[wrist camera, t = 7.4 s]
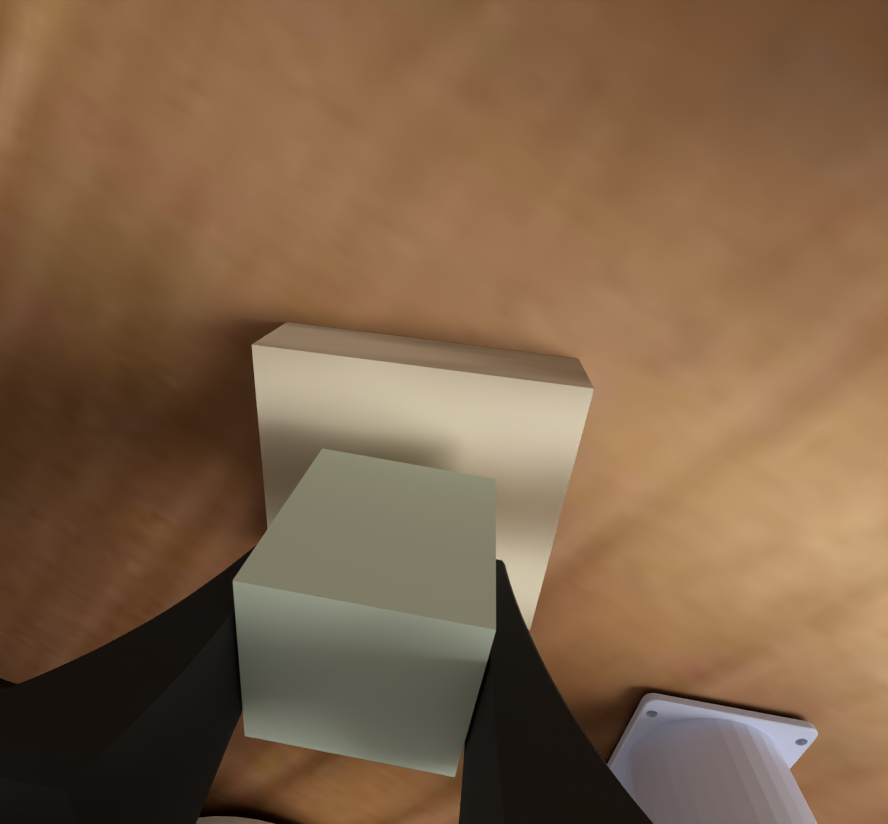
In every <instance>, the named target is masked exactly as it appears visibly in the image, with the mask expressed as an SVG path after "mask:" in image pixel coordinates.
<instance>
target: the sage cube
mask: <svg viewBox="0 0 888 824" xmlns="http://www.w3.org/2000/svg"><path fill="white" fill-rule="evenodd" d="M233 593H234V605H235V618H236V631H237V644H238V656H239V669H240V682H241V694H242V707H243V720H244V732H245V736H247V737H253V738H258V739H263V740H268V741H273V742H278V743H283V744H288V745H293V746H298V747H304V748H309V749H314V750H319V751H324V752H329V753H334V754H339V755H344V756H349V757H354V758H360V759H365V760H370V761H375V762H380V763H385V764H390V765H395V766H400V767H405V768H411V769H416V770H421V771H426V772H431V773H436V774H441V775H446V776H451V777H455V774H456V771H457V767H458V763H459V760H460V756H461V753H462V749H463V746H464V742H465V739H466V735H467V731H468V728H469V724H470V721H471V717H472V714H473V710H474V707H475V703H476V700H477V696H478V692H479V689H480V685H481V682H482V678H483V675H484V671H485V668H486V664H487V660H488V657H489V653H490V650H491V646H492V643H493V639H494V636H495V632H496V479H492V478H486V477H481V476H475V475H470V474H464V473H458V472H453V471H447V470H441V469H436V468H430V467H425V466H419V465H413V464H408V463H402V462H396V461H391V460H385V459H380V458H374V457H368V456H363V455H357V454H351V453H346V452H340V451H335V450H329V449H323V448H322V450H321V451H320V453H319V454H318V455H317V457H316V458H315V460H314V461H313V463H312V464H311V466H310V467H309V469H308V470H307V472H306V473H305V475H304V476H303V478H302V479H301V481H300V482H299V484H298V485H297V486H296V488H295V489H294V491H293V492H292V494H291V495H290V497H289V498H288V500H287V501H286V503H285V504H284V506H283V507H282V509H281V510H280V512H279V513H278V514H277V516H276V517H275V519H274V520H273V522H272V523H271V525H270V526H269V528H268V529H267V531H266V532H265V534H264V535H263V537H262V538H261V540H260V541H259V542H258V544H257V545H256V547H255V548H254V550H253V551H252V553H251V554H250V556H249V557H248V559H247V560H246V562H245V563H244V565H243V566H242V568H241V569H240V571H239V572H238V573H237V575H236V576H235V578H234V579H233Z"/></svg>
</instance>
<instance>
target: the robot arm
mask: <svg viewBox="0 0 888 824" xmlns="http://www.w3.org/2000/svg"><path fill="white" fill-rule="evenodd" d="M255 547H256V546H255ZM255 547H253V548H252V549H251V550H250V551H249V552H247V553H246V554H245V555H244V556H242V557H241V558H240V559H238V560H237V561H236V562H235V563H233V564H232V565H231V566H229V567H228V568H227V569H226V570H224V571H223V572H222V573H220V574H219V575H218V576H216V577H215V578H213V579H212V580H211V581H209V582H208V583H206V584H205V585H204V586H202V587H201V588H199V589H198V590H197V591H195V592H194V593H192V594H191V595H189V596H188V597H186V598H185V599H183V600H182V601H180V602H179V603H177V604H176V605H174V606H173V607H171V608H170V609H168V610H166V611H165V612H163V613H161V614H160V615H158V616H157V617H155V618H153V619H152V620H150V621H148V622H146V623H145V624H143V625H141V626H139V627H137V628H136V629H134V630H132V631H130V632H128V633H127V634H125V635H123V636H121V637H119V638H117V639H115V640H113V641H112V642H110V643H108V644H106V645H104V646H102V647H100V648H98V649H96V650H94V651H92V652H90V653H88V654H86V655H84V656H82V657H80V658H77V659H75V660H73V661H71V662H69V663H66V664H64V665H62V666H60V667H58V668H56V669H53V670H51V671H49V672H46V673H44V674H42V675H39V676H37V677H35V678H32V679H30V680H27V681H25V682H22V683H20V684H17V685H15V686H12V687H10V688H7V689H5V690H2V691H0V824H196V823H197V820H198V817H199V815H200V812H201V810H202V807H203V805H204V802H205V799H206V797H207V794H208V792H209V789H210V787H211V784H212V782H213V779H214V777H215V775H216V772H217V770H218V767H219V765H220V762H221V760H222V757H223V755H224V752H225V750H226V748H227V745H228V743H229V741H230V738H231V736H232V733H233V731H234V729H235V726H236V724H237V722H238V719H239V717H240V715H241V712H242V710H243V707H242V694H241V682H240V669H239V656H238V644H237V631H236V618H235V605H234V593H233V579H234V578H235V576H236V575H237V573H238V572H239V571H240V569H241V568H242V566H243V565H244V563H245V562H246V560H247V559H248V557H249V556H250V554H251V553H252V551H253V550H254V548H255ZM817 735H818V732H817V730H816V729H815V727H814V725H813V724H812V723H810V722H807V721H803V720H797V719H792V718H786V717H781V716H776V715H770V714H765V713H760V712H754V711H749V710H743V709H738V708H733V707H727V706H722V705H717V704H711V703H706V702H701V701H695V700H690V699H684V698H679V697H674V696H668V695H663V694H658V693H649V694H646V695H645V696H644V697H643V698H642V700H641V701H640V703H639V705H638V707H637V709H636V711H635V713H634V715H633V717H632V718H631V720H630V722H629V724H628V726H627V728H626V730H625V732H624V733H623V735H622V737H621V739H620V741H619V743H618V745H617V747H616V749H615V750H614V752H613V754H612V756H611V758H610V760H609V762H608V764H606V763H605V762H604V760H603V759H602V757H601V756H600V754H599V753H598V751H597V750H596V748H595V747H594V746H593V744H592V743H591V741H590V740H589V738H588V737H587V735H586V734H585V732H584V731H583V729H582V728H581V727H580V725H579V724H578V722H577V720H576V719H575V717H574V716H573V714H572V712H571V711H570V709H569V707H568V706H567V704H566V703H565V701H564V699H563V698H562V696H561V694H560V692H559V691H558V689H557V687H556V685H555V684H554V682H553V680H552V678H551V676H550V674H549V673H548V671H547V669H546V667H545V665H544V663H543V661H542V659H541V657H540V655H539V653H538V650H537V648H536V646H535V644H534V642H533V640H532V638H531V635H530V633H529V631H528V628H527V626H526V624H525V621H524V619H523V616H522V614H521V612H520V609H519V606H518V604H517V601H516V598H515V595H514V593H513V590H512V587H511V584H510V580H509V577H508V574H507V570H506V566H505V563H504V562H503V561H502V560H498V559H496V632H495V636H494V639H493V643H492V646H491V650H490V653H489V657H488V660H487V664H486V668H485V671H484V675H483V678H482V682H481V685H480V689H479V692H478V696H477V700H476V703H475V707H474V710H473V714H472V717H471V721H470V724H469V728H468V731H467V735H466V739H465V750H464V765H463V778H462V791H461V803H460V815H459V824H817V822H816V820H815V818H814V816H813V814H812V812H811V810H810V808H809V806H808V804H807V803H806V801H805V799H804V797H803V795H802V793H801V791H800V789H799V787H798V785H797V783H796V781H795V779H794V777H793V775H792V773H791V771H790V768H791V767H792V766H793V765H794V763H795V762H796V761H797V760H798V759H799V758H800V756H801V755H802V754H803V753H804V752H805V751H806V749H807V748H808V747H809V746H810V745H811V743H812V742H813V741H814V740H815V739H816V737H817Z"/></svg>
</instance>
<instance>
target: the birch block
mask: <svg viewBox="0 0 888 824" xmlns="http://www.w3.org/2000/svg"><path fill="white" fill-rule="evenodd" d="M252 355H253V367H254V378H255V390H256V401H257V413H258V424H259V436H260V447H261V458H262V470H263V481H264V493H265V504H266V516H267V527H268V528H269V526H270V525H271V523H272V522H273V520H274V519H275V517H276V516H277V514H278V513H279V512H280V510H281V509H282V507H283V506H284V504H285V503H286V501H287V500H288V498H289V497H290V495H291V494H292V492H293V491H294V489H295V488H296V486H297V485H298V484H299V482H300V481H301V479H302V478H303V476H304V475H305V473H306V472H307V470H308V469H309V467H310V466H311V464H312V463H313V461H314V460H315V458H316V457H317V455H318V454H319V453H320V451H321V450H322V448H323V449H329V450H335V451H340V452H346V453H351V454H357V455H363V456H368V457H374V458H380V459H385V460H391V461H396V462H402V463H408V464H413V465H419V466H425V467H430V468H436V469H441V470H447V471H453V472H458V473H464V474H470V475H475V476H481V477H486V478H492V479H496V559H498V560H502V561H503V562H504V563H505V566H506V570H507V574H508V577H509V580H510V584H511V587H512V590H513V593H514V595H515V598H516V601H517V604H518V606H519V609H520V612H521V614H522V616H523V619H524V621H525V624H526V626H527V628H528V629H529V630H530V628H531V624H532V620H533V617H534V613H535V609H536V605H537V602H538V598H539V594H540V590H541V586H542V583H543V579H544V575H545V571H546V568H547V564H548V560H549V556H550V553H551V549H552V545H553V541H554V537H555V534H556V530H557V526H558V522H559V519H560V515H561V511H562V507H563V504H564V500H565V496H566V492H567V488H568V485H569V481H570V477H571V473H572V470H573V466H574V462H575V458H576V455H577V451H578V447H579V443H580V439H581V436H582V432H583V428H584V424H585V421H586V417H587V413H588V409H589V406H590V402H591V398H592V394H593V391H594V388H593V386H592V384H591V382H590V380H589V378H588V376H587V374H586V372H585V370H584V368H583V366H582V364H581V362H580V360H579V359H575V358H567V357H559V356H551V355H544V354H536V353H528V352H520V351H512V350H504V349H496V348H489V347H481V346H473V345H465V344H457V343H449V342H442V341H434V340H426V339H418V338H410V337H402V336H394V335H387V334H379V333H371V332H363V331H355V330H347V329H339V328H332V327H324V326H316V325H308V324H300V323H292V322H286V323H285V324H283V325H282V326H280V327H278V328H277V329H275V330H274V331H272V332H271V333H269V334H267V335H266V336H264V337H263V338H261V339H260V340H258V341H256V342H255V343H253V344H252Z"/></svg>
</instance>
